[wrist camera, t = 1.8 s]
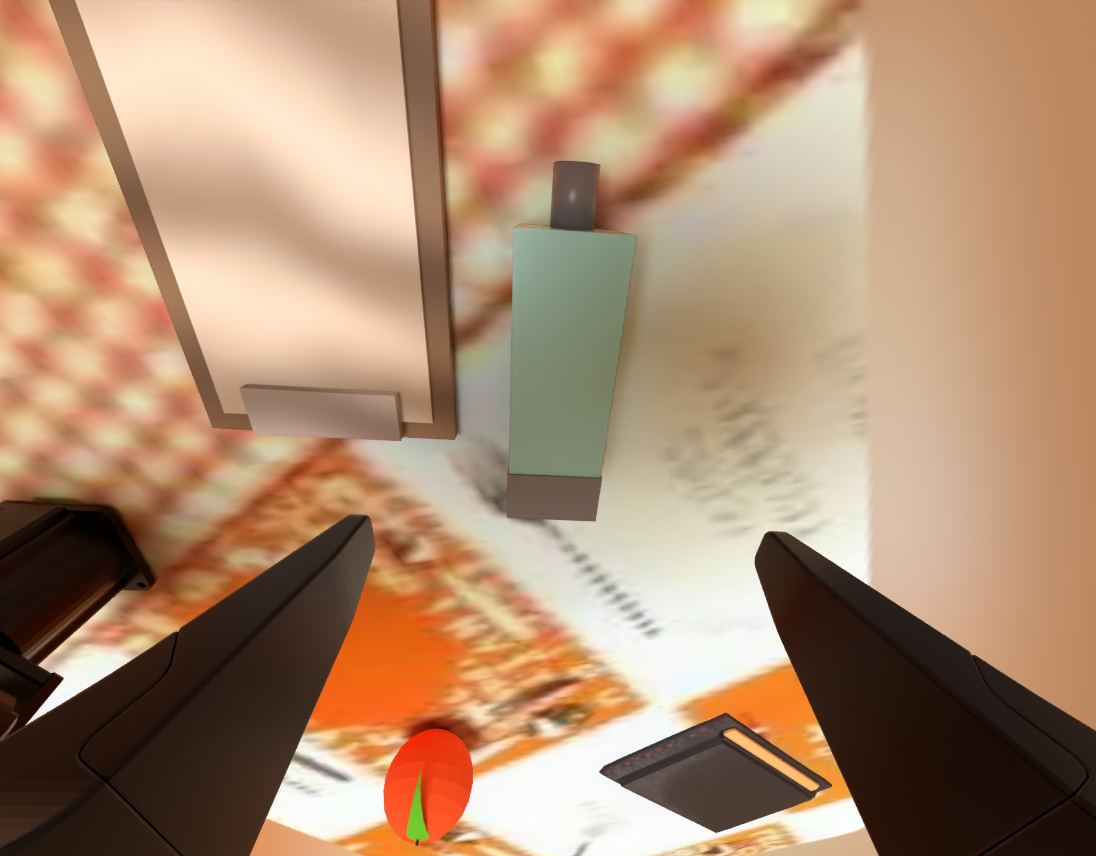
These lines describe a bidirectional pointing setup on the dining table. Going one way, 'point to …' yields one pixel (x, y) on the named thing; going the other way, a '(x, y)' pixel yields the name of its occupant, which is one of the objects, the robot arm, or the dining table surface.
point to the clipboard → (285, 201)
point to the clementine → (428, 786)
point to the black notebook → (717, 775)
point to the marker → (564, 350)
